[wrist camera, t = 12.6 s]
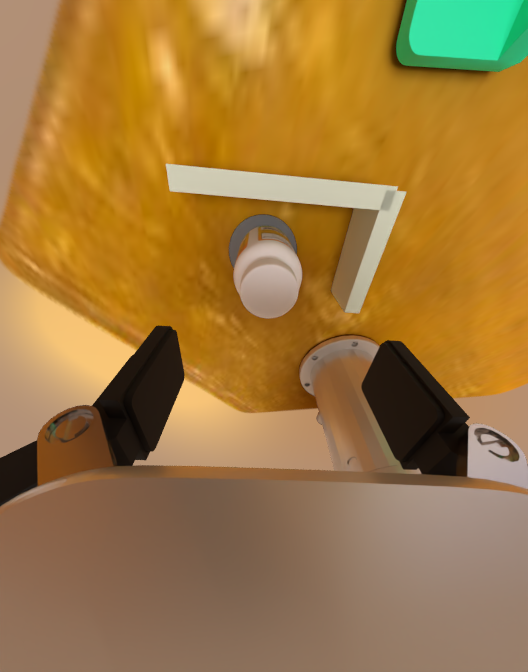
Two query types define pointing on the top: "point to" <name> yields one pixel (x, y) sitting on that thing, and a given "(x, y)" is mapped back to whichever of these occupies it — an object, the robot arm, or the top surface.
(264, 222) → the pad
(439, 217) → the top surface
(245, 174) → the corner walls
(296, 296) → the supplement bottle
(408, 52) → the camera mount
